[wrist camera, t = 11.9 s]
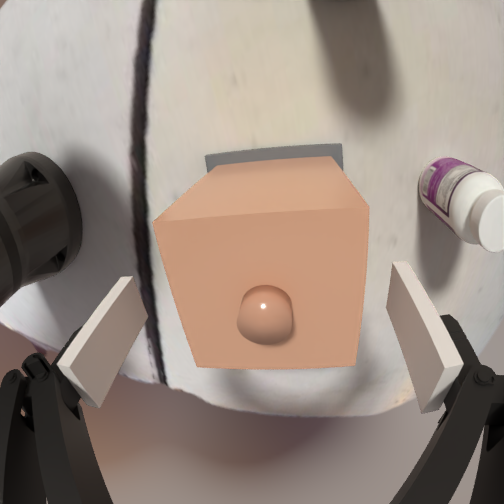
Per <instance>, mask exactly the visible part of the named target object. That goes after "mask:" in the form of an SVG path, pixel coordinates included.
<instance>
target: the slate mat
mask: <svg viewBox="0 0 504 504" xmlns="http://www.w3.org/2000/svg"><path fill="white" fill-rule="evenodd" d="M323 156H331V157H332V158H333V159H334V160H335V162H336V163H337V164H338V166H339V167H340V168H341V169H342V171H343V155H342V144H316V145H299V146H285V147H272V148H261V149H251V150H242V151H233V152H225V153H217V154H210V155H206V156H205V160H206V166H207V172H210V171H211V170H212V169H213V168H214V167H216V166H217V165H225V164H234V163H243V162H253V161H264V160H276V159H289V158H304V157H323Z"/></svg>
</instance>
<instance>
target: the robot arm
mask: <svg viewBox="0 0 504 504" xmlns="http://www.w3.org/2000/svg"><path fill="white" fill-rule="evenodd" d="M81 239H82V221H81V214H80V209H79V205H78V202H77V199H76V196H75V193H74V191H73V189H72V187H71V185H70V183H69V181H68V179H67V178H66V176H65V174H64V173H63V172H62V170H61V169H60V168H59V167H58V166H57V165H56V164H55V163H54V162H53V161H52V160H51V159H49V158H48V157H46V156H45V155H43V154H40V153H37V152H26V153H23V154H20V155H17V156H15V157H12V158H10V159H8V160H7V161H5V162H4V163H3V164H2V165H1V166H0V307H1V306H2V305H3V304H4V303H5V302H6V301H7V300H8V299H9V298H10V297H11V296H12V295H13V294H14V293H15V292H17V291H18V290H19V289H20V288H21V287H24V286H27V285H29V284H32V283H35V282H38V281H41V280H43V279H46V278H49V277H52V276H55V275H57V274H58V273H60V272H61V271H62V270H64V269H65V268H66V267H67V266H68V265H69V264H70V263H71V262H72V261H73V260H74V259H75V257H76V256H77V254H78V251H79V249H80V245H81ZM386 309H387V311H388V314H389V317H390V319H391V322H392V325H393V327H394V330H395V333H396V335H397V338H398V341H399V344H400V347H401V350H402V352H403V355H404V358H405V361H406V364H407V367H408V370H409V374H410V377H411V380H412V383H413V386H414V390H415V393H416V396H417V400H418V403H419V407H420V410H421V414H423V413H428V412H432V411H436V410H439V408H440V407H441V405H442V403H443V402H444V404H445V406H446V411H445V413H444V414H443V416H442V417H441V419H440V420H439V422H438V423H439V424H438V426H437V428H436V431H435V432H434V434H433V436H432V438H431V440H430V441H429V444H428V445H427V447H426V449H425V451H424V452H423V454H422V455H421V457H420V459H419V461H418V462H417V464H416V465H415V467H414V469H413V470H412V472H411V473H410V475H409V476H408V478H407V480H406V481H405V483H404V484H403V485H402V487H401V488H400V490H399V491H398V493H397V494H396V495H395V497H394V498H393V500H392V501H391V502H390V504H448V503H449V501H450V500H451V498H452V496H453V494H454V492H455V491H456V488H457V487H458V485H459V483H460V481H461V479H462V477H463V474H464V473H465V471H466V469H467V466H468V464H469V462H470V460H471V457H472V455H473V453H474V450H475V448H476V446H477V443H478V441H479V438H480V435H481V433H482V430H483V427H484V434H483V441H482V449H481V455H480V461H479V466H478V471H477V475H476V480H475V485H474V488H473V492H472V496H471V500H470V504H504V375H496V374H495V372H494V371H493V370H492V369H491V368H489V367H488V366H485V365H481V364H480V362H479V360H478V358H477V356H476V354H475V352H474V350H473V348H472V346H471V344H470V343H469V341H468V339H466V338H467V337H466V335H465V333H464V332H463V330H462V328H461V326H460V325H459V323H458V321H457V320H455V319H454V318H453V317H452V316H451V315H449V314H448V315H442V316H439V314H438V312H437V311H436V309H435V307H434V305H433V304H432V302H431V300H430V298H429V297H428V295H427V293H426V291H425V290H424V288H423V286H422V285H421V283H420V281H419V280H418V278H417V276H416V275H415V273H414V272H413V270H412V268H411V267H410V265H409V264H408V262H407V261H402V262H393V263H392V271H391V279H390V286H389V293H388V300H387V306H386ZM147 318H148V315H147V313H146V310H145V308H144V305H143V302H142V300H141V297H140V295H139V292H138V289H137V286H136V284H135V281H134V278H133V276H130V277H121V278H120V279H119V280H118V282H117V283H116V284H115V285H114V287H113V288H112V289H111V290H110V292H109V293H108V294H107V296H106V297H105V298H104V299H103V301H102V302H101V303H100V305H99V306H98V307H97V309H96V310H95V311H94V313H93V314H92V315H91V317H90V318H89V319H88V321H87V322H86V323H85V325H84V326H82V327H80V328H79V329H78V330H77V331H75V332H74V333H73V335H72V336H71V338H70V339H69V341H68V342H67V343H66V344H65V347H63V349H62V350H61V352H60V353H59V354H58V356H57V357H56V359H55V360H54V362H53V363H52V365H50V364H49V363H48V361H47V360H46V358H45V357H44V355H43V354H41V353H34V354H31V355H30V356H28V357H27V358H26V359H25V360H24V362H23V363H22V367H21V368H22V369H23V371H24V372H25V373H26V375H27V376H28V377H24V376H23V374H22V373H21V372H20V371H19V370H18V369H14V370H11V371H9V372H8V373H7V374H6V375H5V376H4V378H3V380H2V383H1V387H0V504H46V497H47V501H48V504H113V502H112V500H111V498H110V495H109V492H108V490H107V487H106V485H105V482H104V479H103V477H102V474H101V471H100V469H99V466H98V463H97V460H96V457H95V454H94V451H93V448H92V444H91V441H90V437H89V434H88V431H87V427H86V423H85V419H84V415H83V412H82V408H81V406H80V404H79V403H78V402H79V400H80V398H82V399H83V401H84V402H85V403H86V404H87V405H88V406H92V407H96V408H100V407H101V405H102V403H103V401H104V399H105V397H106V395H107V393H108V391H109V389H110V387H111V385H112V383H113V381H114V379H115V377H116V375H117V373H118V371H119V370H120V368H121V366H122V364H123V362H124V360H125V358H126V356H127V354H128V352H129V351H130V349H131V347H132V345H133V343H134V341H135V340H136V338H137V336H138V334H139V332H140V330H141V329H142V327H143V325H144V323H145V321H146V320H147ZM21 408H22V410H23V411H24V412H25V416H22V415H21Z"/></svg>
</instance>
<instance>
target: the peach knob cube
mask: <svg viewBox="0 0 504 504" xmlns="http://www.w3.org/2000/svg"><path fill="white" fill-rule="evenodd" d="M152 224H153V227H154V231H155V235H156V239H157V243H158V246H159V250H160V254H161V257H162V261H163V264H164V268H165V271H166V275H167V278H168V282H169V285H170V288H171V292H172V295H173V298H174V301H175V304H176V308H177V311H178V314H179V317H180V320H181V323H182V326H183V329H184V332H185V335H186V338H187V341H188V343H189V346H190V349H191V352H192V355H193V357H194V360H195V363H196V366H197V367H203V368H224V369H309V368H329V367H344V366H355V363H356V356H357V350H358V343H359V336H360V329H361V321H362V312H363V303H364V293H365V282H366V269H367V254H368V235H369V206H368V205H367V203H366V202H365V200H364V199H363V198H362V196H361V195H360V193H359V192H358V191H357V189H356V188H355V187H354V185H353V184H352V183H351V181H350V180H349V179H348V177H347V176H346V175H345V173H344V172H343V171H342V169H341V168H340V167H339V166H338V164H337V163H336V162H335V160H334V159H333V158H332V157H331V156H323V157H304V158H289V159H276V160H264V161H253V162H243V163H234V164H225V165H217V166H216V167H214V168H213V169H212V170H211V171H210V172H208V173H207V174H206V175H205V176H204V177H203V178H201V179H200V180H199V181H198V182H197V183H196V184H194V185H193V186H192V187H191V188H190V189H189V190H188V191H186V192H185V193H184V194H183V195H182V196H181V197H180V198H179V199H177V200H176V201H175V202H174V203H173V204H172V205H171V206H170V207H169V208H167V209H166V210H165V211H164V212H163V213H162V214H161V215H160V216H159V217H158V218H157V219H156V220H154V221H153V222H152Z"/></svg>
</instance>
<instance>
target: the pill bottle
mask: <svg viewBox="0 0 504 504" xmlns="http://www.w3.org/2000/svg"><path fill="white" fill-rule="evenodd" d="M419 194H420V197H421V200H422V202H423V203H424V205H425V206H426V207H427V208H428V209H429V210H430V211H431V212H432V213H433V214H435V215H436V216H437V217H438V218H439V219H440V220H441V221H442V222H443V223H444V224H446V225H447V226H448V227H449V228H450V229H451V230H452V231H453V232H454V233H455V234H456V235H457V236H458V237H459V238H460V239H462V240H463V241H465V242H467V243H470V244H480V245H481V246H482V247H483V248H484V249H485V250H487V251H489V252H499V251H502V250H504V189H503V187H502V185H501V184H500V182H499V181H498V180H497V179H496V178H495V177H493V176H492V175H490V174H489V173H487V172H484V171H482V170H480V169H477V168H475V167H473V166H471V165H469V164H466V163H464V162H462V161H460V160H457V159H454V158H451V157H447V156H441V157H437V158H435V159H433V160H431V161H430V162H429V163H428V164H427V165H426V166H425V167H424V169H423V171H422V173H421V176H420V179H419Z"/></svg>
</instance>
